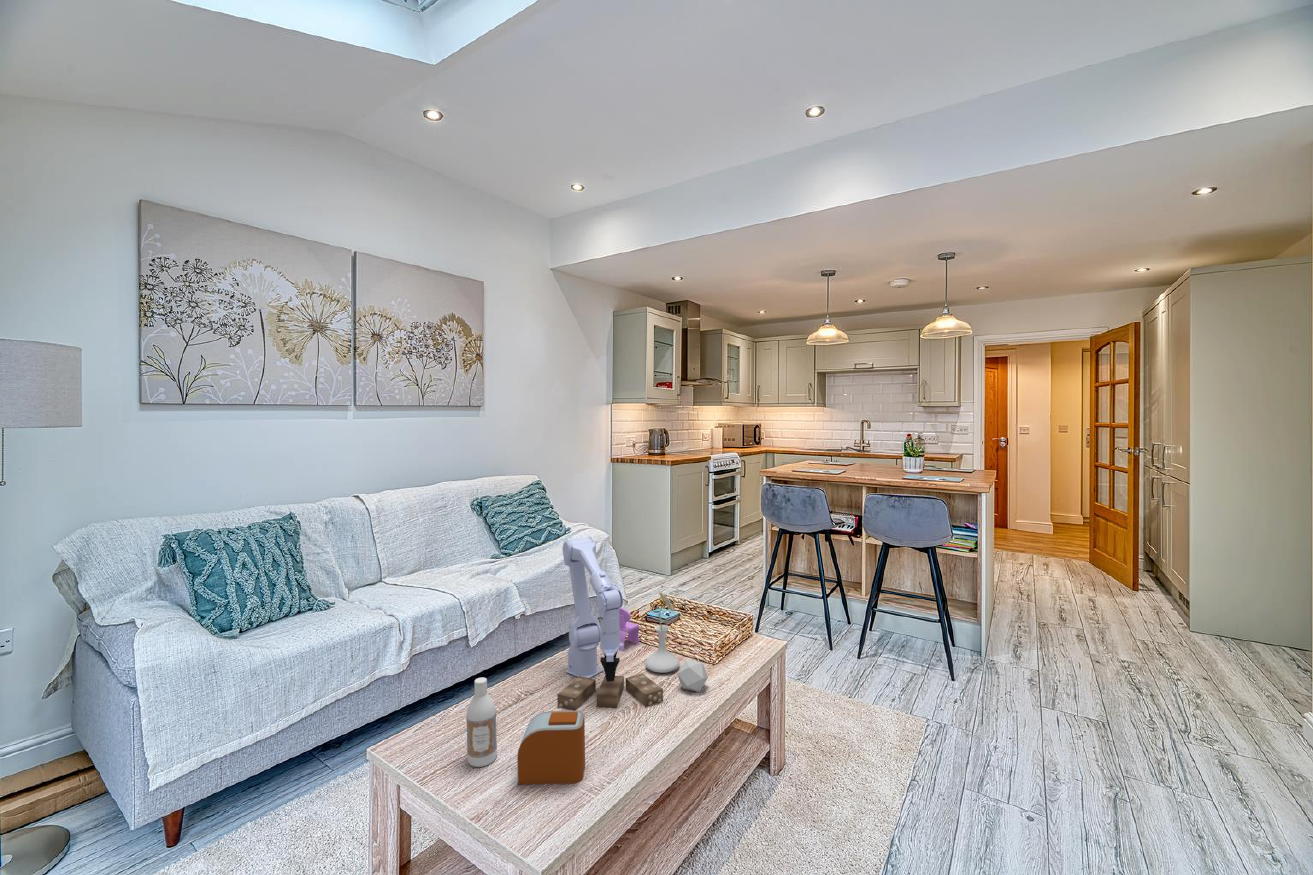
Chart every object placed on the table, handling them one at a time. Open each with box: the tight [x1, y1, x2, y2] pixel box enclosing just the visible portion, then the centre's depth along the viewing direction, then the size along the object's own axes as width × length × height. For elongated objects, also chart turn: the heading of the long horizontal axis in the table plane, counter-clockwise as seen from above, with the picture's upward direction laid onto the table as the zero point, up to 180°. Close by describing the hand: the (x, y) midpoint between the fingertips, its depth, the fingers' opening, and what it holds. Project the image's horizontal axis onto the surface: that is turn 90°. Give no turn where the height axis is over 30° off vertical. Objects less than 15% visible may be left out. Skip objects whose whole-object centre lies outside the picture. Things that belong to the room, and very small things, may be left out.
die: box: [676, 659, 709, 693], centre depth 169 cm, size 8×9×10 cm
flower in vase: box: [645, 591, 680, 673], centre depth 183 cm, size 13×11×25 cm
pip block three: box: [556, 676, 597, 711], centre depth 164 cm, size 12×6×4 cm, turn 157°
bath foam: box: [466, 676, 498, 768], centre depth 135 cm, size 7×7×20 cm
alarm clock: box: [516, 710, 586, 785], centre depth 130 cm, size 15×8×14 cm, turn 91°
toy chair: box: [618, 607, 640, 653], centre depth 201 cm, size 8×9×15 cm
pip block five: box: [625, 672, 664, 708], centre depth 165 cm, size 12×6×4 cm, turn 33°
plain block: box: [595, 675, 625, 709], centre depth 164 cm, size 12×6×4 cm, turn 174°
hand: (610, 674), depth 164 cm, fingers open, 7 cm apart
